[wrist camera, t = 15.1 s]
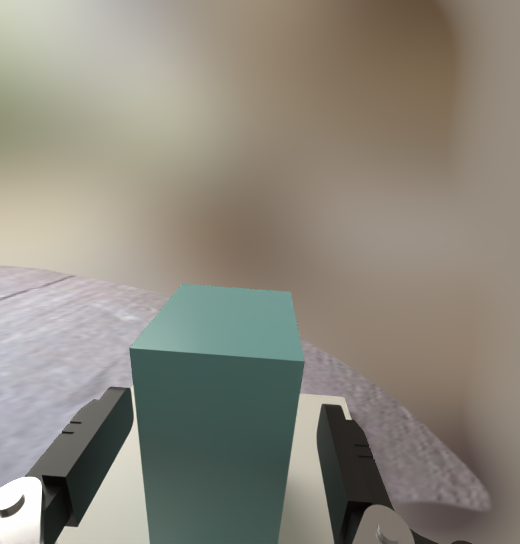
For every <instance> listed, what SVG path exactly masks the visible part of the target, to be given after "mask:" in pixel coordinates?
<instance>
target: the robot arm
mask: <svg viewBox="0 0 520 544" xmlns="http://www.w3.org/2000/svg"><path fill="white" fill-rule="evenodd" d="M133 421H134V412H133V403H132V394H131V389H130V388H122V387H110V388H108V389H107V391H106V392H105V393H104V394H103V396H102V397H101V398H100V400H96V399H94V400H92V401H91V402H89V403H88V404H87V405H85V406H84V407H83V408H81V409H80V410H79V411H78V413H77V414H76V415H75V416H74V417H73V419H72V420H71V421H70V424H68V425H67V426H66V427H65V428H64V430H63V431H62V433H61V434H59V436H58V437H57V438H56V439H55V440H54V442H53V443H52V444H51V445H50V447H49V448H48V449H47V450H46V451H45V453H44V454H43V455H42V456H41V457H40V459H39V460H38V461H37V462H36V464H35V465H34V466H33V467H32V468H31V470H30V471H29V472H28V473H27V474H26V475H25V477H24V478H20V479H17V480H15V481H12V482H10V483H8V484H7V485H5V486H3V487H2V488H1V489H0V544H58V543H57V539H58V537H59V535H60V534H61V532H62V530H63V529H64V527H65V526H67V527H78V526H79V524H80V522H81V520H82V518H83V517H84V515H85V513H86V511H87V509H88V507H89V506H90V504H91V502H92V500H93V498H94V497H95V495H96V493H97V491H98V489H99V488H100V486H101V484H102V482H103V480H104V478H105V477H106V475H107V473H108V471H109V469H110V468H111V466H112V464H113V462H114V460H115V459H116V457H117V455H118V453H119V451H120V449H121V448H122V446H123V444H124V442H125V440H126V439H127V437H128V435H129V433H130V431H131V428H132V425H133ZM316 441H317V450H318V456H319V461H320V467H321V472H322V478H323V483H324V489H325V495H326V500H327V506H328V511H329V517H330V522H331V528H332V533H333V539H334V544H438V543H436V542H433V541H431V540H429V539H427V538H424V537H422V536H420V535H418V534H417V533H415V532H414V531H412V530H411V529H410V528H409V527H408V525H407V524H406V522H405V521H404V520H403V519H402V518H401V517H400V516H399V515H398V514H397V513H396V512H395V511H394V509H393V507H392V505H391V502H390V500H389V497H388V494H387V492H386V489H385V486H384V484H383V481H382V479H381V476H380V473H379V471H378V468H377V465H376V463H375V460H374V459H373V455H372V452H371V449H370V448H369V444H368V441H367V439H366V436H365V434H364V431H363V430H362V429H361V428H360V427H359V425H358V424H357V423H356V422H355V420H346V418H345V415H344V412H343V409H342V407H341V405H334V404H322V405H321V410H320V415H319V421H318V427H317V434H316ZM452 544H472V543H469V542H466V541H455V542H453V543H452Z"/></svg>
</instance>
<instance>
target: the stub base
mask: <svg viewBox="0 0 520 544" xmlns="http://www.w3.org/2000/svg"><path fill="white" fill-rule="evenodd" d="M131 394H132V403H133V412H134V421H133V425H132V428H131V431H130V433H129V435H128V437H127V439H126V440H125V442H124V444H123V446H122V448H121V449H120V451H119V453H118V455H117V457H116V459H115V460H114V462H113V464H112V466H111V468H110V469H109V471H108V473H107V475H106V477H105V478H104V480H103V482H102V484H101V486H100V488H99V489H98V491H97V493H96V495H95V497H94V498H93V500H92V502H91V504H90V506H89V507H88V509H87V511H86V513H85V515H84V517H83V518H82V520H81V522H80V524H79V526H78V527H67V526H65V527H64V529H63V530H62V532H61V534H60V535H59V537H58V539H57V543H58V544H150V541H149V531H148V522H147V512H146V502H145V493H144V483H143V474H142V464H141V454H140V445H139V435H138V425H137V416H136V406H135V397H134V387H133V386H132V387H131ZM322 404H334V405H341V407H342V409H343V412H344V415H345V418H346V420H352V419H351V416H350V414H349V411H348V408H347V405H346V402H345V399H344V397H335V396H323V395H311V394H300V395H299V402H298V409H297V416H296V423H295V429H294V436H293V443H292V450H291V457H290V463H289V470H288V477H287V484H286V491H285V498H284V504H283V511H282V518H281V525H280V532H279V538H278V544H334V539H333V533H332V528H331V522H330V517H329V511H328V506H327V500H326V495H325V489H324V483H323V478H322V472H321V467H320V461H319V456H318V450H317V441H316V434H317V427H318V421H319V415H320V410H321V405H322Z"/></svg>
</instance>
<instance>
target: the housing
mask: <svg viewBox="0 0 520 544" xmlns="http://www.w3.org/2000/svg"><path fill="white" fill-rule="evenodd" d="M129 349H130V358H131V368H132V377H133V387H134V397H135V406H136V416H137V425H138V435H139V445H140V454H141V464H142V474H143V483H144V493H145V502H146V512H147V522H148V531H149V541H150V544H278V538H279V532H280V525H281V518H282V511H283V504H284V498H285V491H286V484H287V477H288V470H289V463H290V457H291V450H292V443H293V436H294V429H295V423H296V416H297V409H298V402H299V395H300V389H301V382H302V375H303V368H304V356H303V351H302V346H301V341H300V336H299V332H298V327H297V321H296V316H295V312H294V306H293V302H292V297H291V292H284V291H271V290H257V289H244V288H231V287H217V286H204V285H191V284H182V285H181V286H180V287H179V289H178V290H177V291H176V292H175V293H174V295H173V296H172V297H171V298H170V299H169V301H168V302H167V303H166V304H165V305H164V307H163V308H162V309H161V310H160V311H159V313H158V314H157V315H156V316H155V318H154V319H153V320H152V321H151V322H150V324H149V325H148V326H147V327H146V329H145V330H144V331H143V332H142V333H141V335H140V336H139V337H138V338H137V339H136V341H135V342H134V343H133V344H132V346H131V347H130V348H129Z"/></svg>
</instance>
